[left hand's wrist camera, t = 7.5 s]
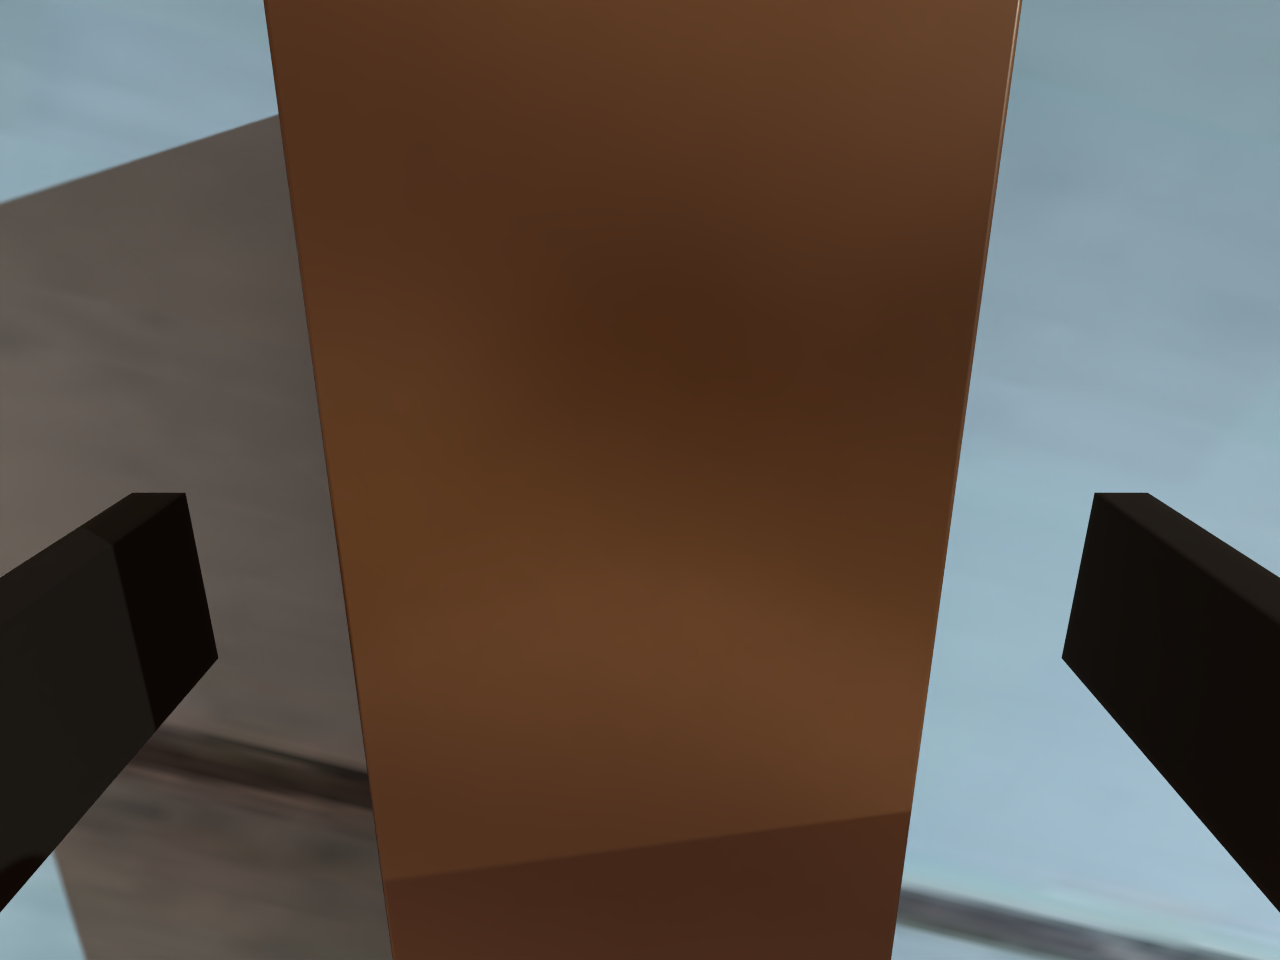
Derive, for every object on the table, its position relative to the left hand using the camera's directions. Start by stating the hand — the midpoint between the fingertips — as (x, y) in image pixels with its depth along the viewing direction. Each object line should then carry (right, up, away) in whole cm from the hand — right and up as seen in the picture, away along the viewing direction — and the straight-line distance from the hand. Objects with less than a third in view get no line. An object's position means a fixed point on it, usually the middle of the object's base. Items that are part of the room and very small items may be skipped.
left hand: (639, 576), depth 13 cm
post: (0, -30, +14) cm, 33 cm away
